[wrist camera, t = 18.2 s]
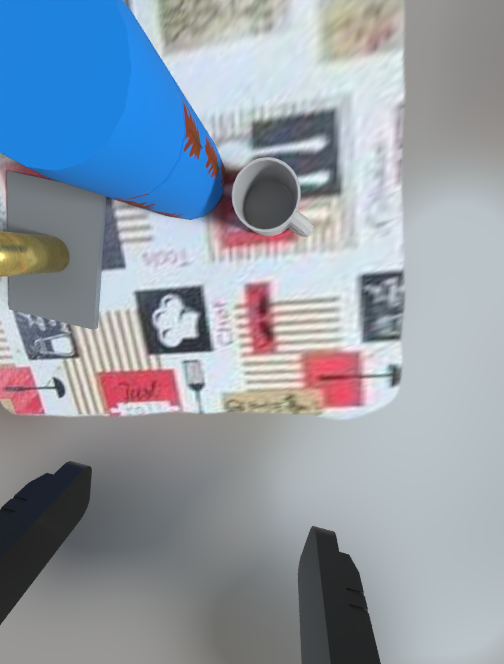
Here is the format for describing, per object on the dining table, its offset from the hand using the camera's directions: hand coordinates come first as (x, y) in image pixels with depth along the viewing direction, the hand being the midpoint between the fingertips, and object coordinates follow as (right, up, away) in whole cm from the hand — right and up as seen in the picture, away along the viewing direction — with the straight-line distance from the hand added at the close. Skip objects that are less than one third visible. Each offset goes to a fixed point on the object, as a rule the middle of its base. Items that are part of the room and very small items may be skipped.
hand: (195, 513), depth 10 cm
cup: (+6, +22, +29) cm, 37 cm away
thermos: (-7, +27, +29) cm, 40 cm away
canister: (-27, +18, +33) cm, 46 cm away
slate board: (-27, +18, +34) cm, 47 cm away
